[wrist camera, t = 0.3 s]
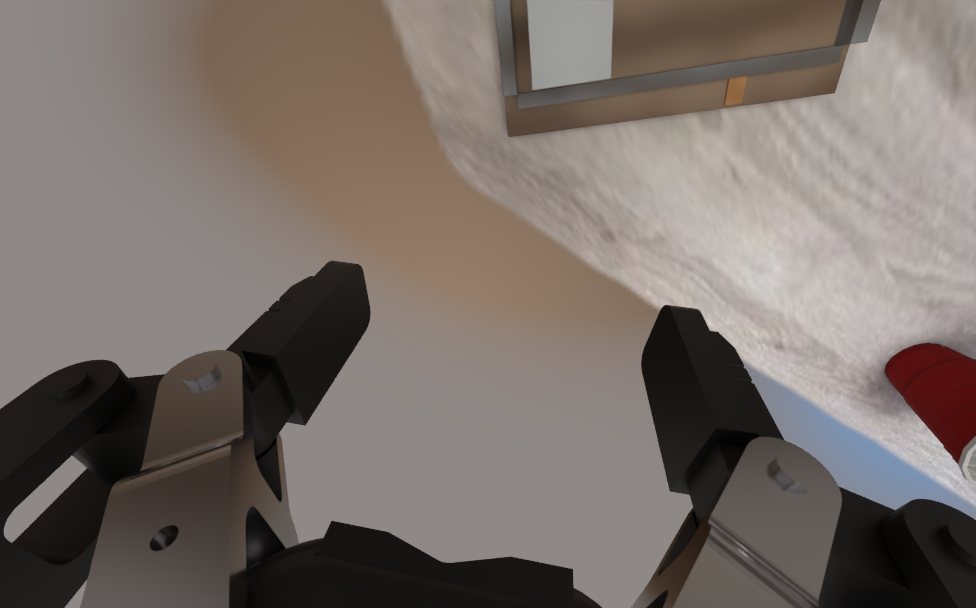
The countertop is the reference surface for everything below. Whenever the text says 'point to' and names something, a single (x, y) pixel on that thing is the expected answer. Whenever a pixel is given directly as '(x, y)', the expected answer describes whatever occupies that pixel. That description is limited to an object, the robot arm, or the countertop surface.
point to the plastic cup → (941, 397)
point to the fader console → (687, 59)
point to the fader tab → (569, 41)
